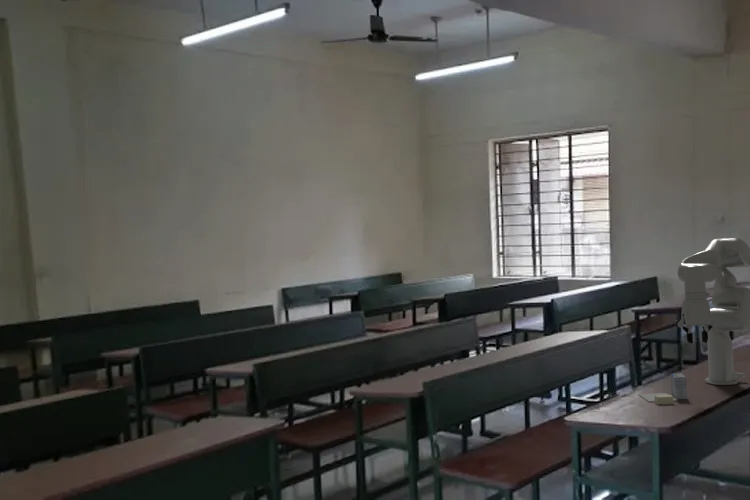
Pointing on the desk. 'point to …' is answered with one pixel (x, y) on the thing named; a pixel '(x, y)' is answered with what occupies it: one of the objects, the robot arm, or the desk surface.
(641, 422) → the desk surface
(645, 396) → the mat
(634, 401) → the desk surface
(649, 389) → the desk surface
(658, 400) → the pale yellow faceted block
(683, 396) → the medicine box
